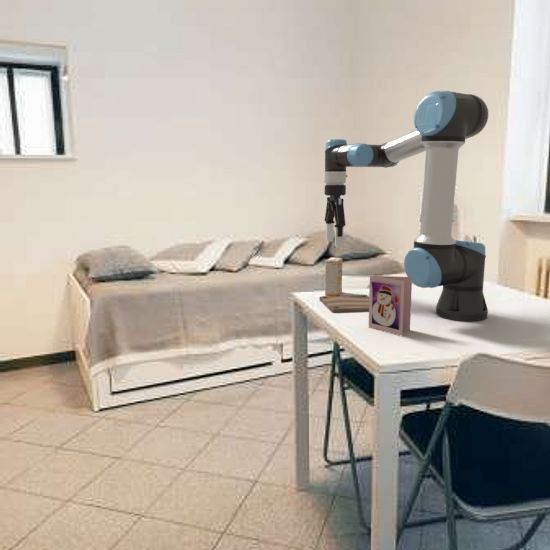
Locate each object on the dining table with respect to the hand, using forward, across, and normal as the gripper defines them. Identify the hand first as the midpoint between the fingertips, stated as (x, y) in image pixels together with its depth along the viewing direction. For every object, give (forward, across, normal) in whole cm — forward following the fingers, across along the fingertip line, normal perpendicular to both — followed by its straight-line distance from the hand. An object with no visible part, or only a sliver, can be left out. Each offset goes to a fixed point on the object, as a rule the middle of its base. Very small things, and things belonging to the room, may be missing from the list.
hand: (334, 243), depth 192 cm
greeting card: (+18, -49, -4) cm, 53 cm away
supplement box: (+19, 0, 0) cm, 19 cm away
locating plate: (+18, -19, -1) cm, 26 cm away
